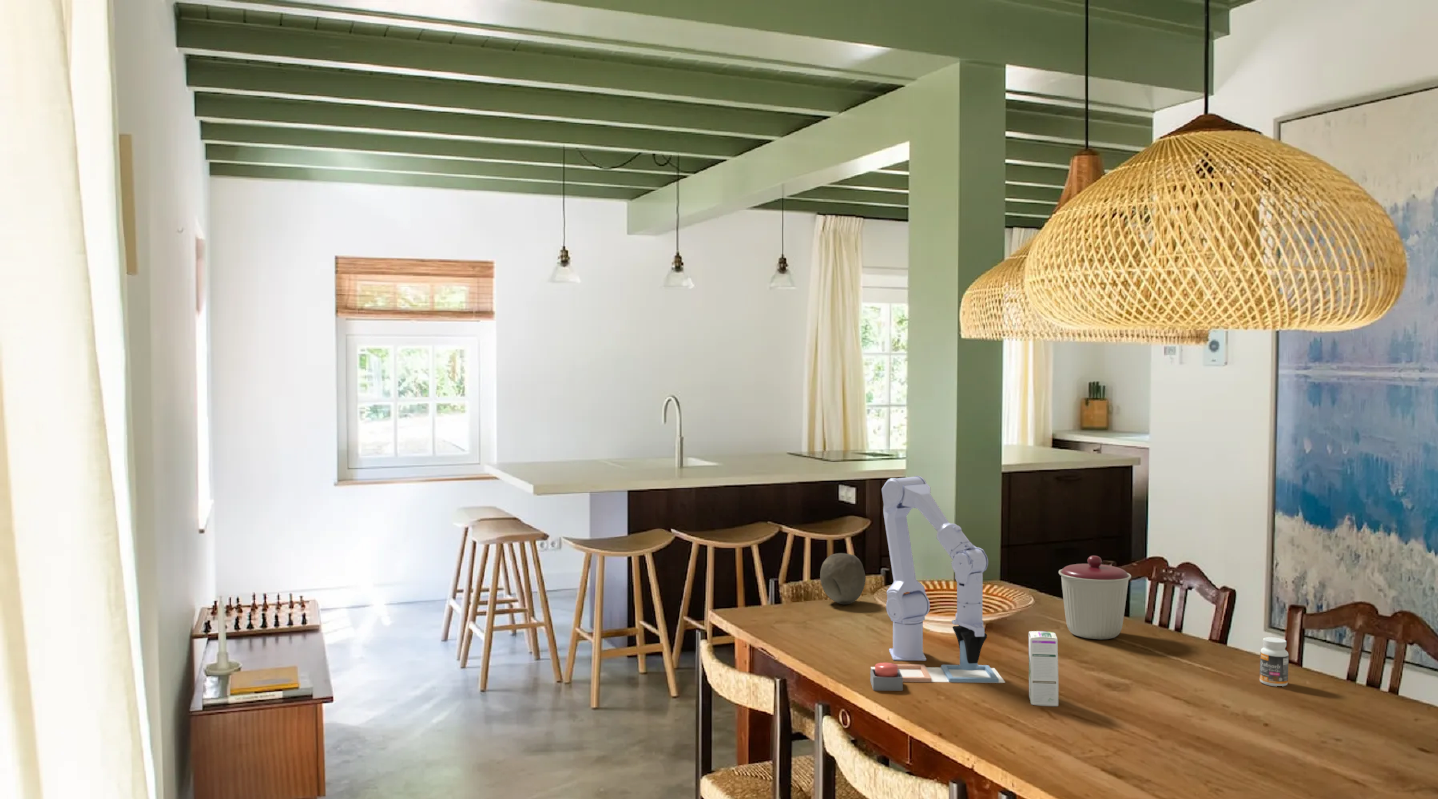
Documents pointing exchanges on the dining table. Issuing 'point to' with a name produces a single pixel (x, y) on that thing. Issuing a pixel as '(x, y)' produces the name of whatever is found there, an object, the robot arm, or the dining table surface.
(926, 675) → the region terracotta
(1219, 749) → the dining table surface
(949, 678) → the region blue
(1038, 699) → the syrup box
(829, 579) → the grey boulder
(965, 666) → the blue cylinder
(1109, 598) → the canister
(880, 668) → the button
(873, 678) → the button base
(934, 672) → the sheet
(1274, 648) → the pill bottle
